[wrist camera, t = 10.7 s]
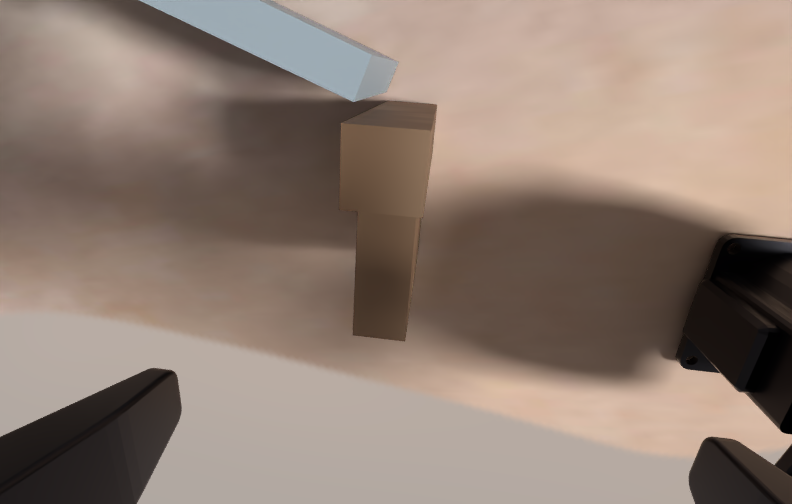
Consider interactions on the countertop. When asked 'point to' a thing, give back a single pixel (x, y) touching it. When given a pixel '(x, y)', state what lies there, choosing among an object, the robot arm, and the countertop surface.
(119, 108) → the countertop surface
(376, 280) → the fence
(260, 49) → the gate
